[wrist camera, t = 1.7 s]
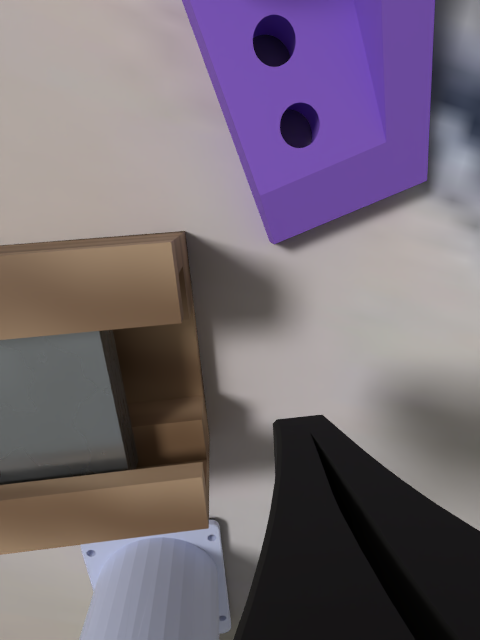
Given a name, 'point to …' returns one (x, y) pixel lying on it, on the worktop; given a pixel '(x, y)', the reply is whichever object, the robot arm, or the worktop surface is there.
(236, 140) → the bracket
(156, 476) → the sleeve box
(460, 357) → the worktop surface
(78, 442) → the cover plate
